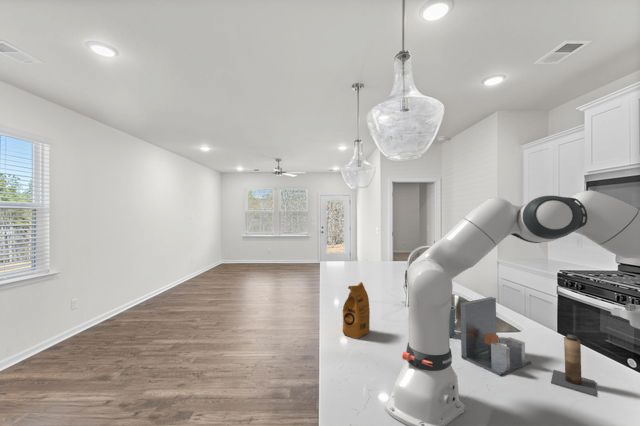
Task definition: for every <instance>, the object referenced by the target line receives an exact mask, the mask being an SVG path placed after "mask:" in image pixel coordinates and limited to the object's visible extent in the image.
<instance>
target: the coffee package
mask: <svg viewBox="0 0 640 426" xmlns="http://www.w3.org/2000/svg"><path fill="white" fill-rule="evenodd" d="M347 289H348V290H349V294H348V297H347V298H346V300H345V301H344V304H343V306H342V307H343V309H342V333H343V335H344V336H347V337H349V338H353V339H356V340H359V339H360V338H361V337H363V336H366V335H368V333H369V332H370V319H371V318H370V299H369V295H368V292H367V290H366V288H365V285H364V284H363V282H362V281H360V282H359V283H358V284H357V285H349V286H348V287H347Z"/></svg>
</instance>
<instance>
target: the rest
mask: <svg viewBox="0 0 640 426" xmlns="http://www.w3.org/2000/svg"><path fill="white" fill-rule="evenodd" d="M552 370H553V372H552V375H551V378H550V379H551V381H550V384H551V385H552V384H553V385H556V386H560V387H562V388H566V389H568V390H572V391H575V392H578V393H583V394H586V395H589V396H593V397H597V395H596V381H595V380H593V379H589V378H586V377H583V376H581V379H582V384H581V385H575V384H571V383H569V382H567V381H566V380H565V371H560V370H556V369H552Z"/></svg>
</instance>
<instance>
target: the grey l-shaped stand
mask: <svg viewBox="0 0 640 426" xmlns="http://www.w3.org/2000/svg"><path fill="white" fill-rule="evenodd" d="M487 333H492V334H495V335H498V334H497V299H496V297H493V296H492V297H491V296H490V297H484V298H479V299H475V300H469V301H464V302H460V344H461V345H460V346H461V349H460V350H461V353H460V355H461V359H463V360H465V361H467V362H469V363H471V364H473V365H475V366H477V367H480V368H481V369H484V370H487V371H489V372H490V373H492V374H495V375H497V376H499V377H501V376H503V375H506V374H509V373H511V372H513V371H516V370H519V369H521V368H522V367H526V366H528V365H530V364H532V360H531V359H528V358H526V343H525V341H522V340H519V339H516V338H512V337H511V336H510V337H507V338H506V345H504V344H500V343H499V342H498V343H496V342H493V343H491V356H490V355H489V351H488V344H486V343H485V334H487Z"/></svg>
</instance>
